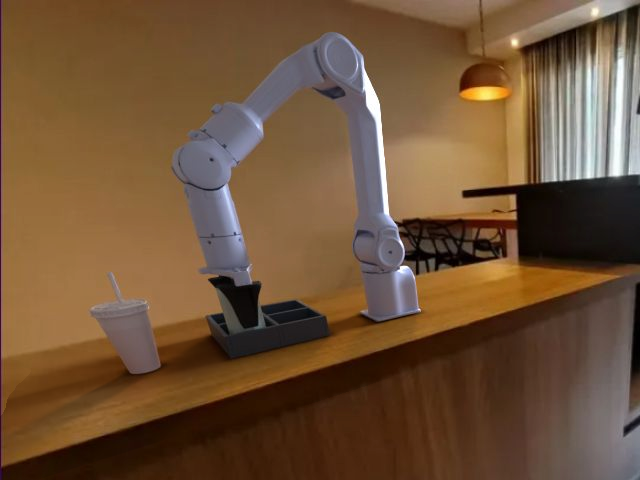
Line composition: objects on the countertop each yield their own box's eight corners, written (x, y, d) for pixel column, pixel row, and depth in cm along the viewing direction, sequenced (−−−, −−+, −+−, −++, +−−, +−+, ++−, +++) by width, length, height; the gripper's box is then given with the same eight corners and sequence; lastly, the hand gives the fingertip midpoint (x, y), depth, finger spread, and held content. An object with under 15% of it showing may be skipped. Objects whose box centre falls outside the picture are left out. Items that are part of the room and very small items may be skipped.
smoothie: (182, 360, 67) (147, 268, 61) (146, 378, 61) (104, 278, 55) (144, 359, 68) (105, 268, 62) (105, 377, 62) (59, 278, 56)
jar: (262, 327, 75) (249, 280, 72) (271, 334, 71) (257, 286, 68) (228, 334, 72) (212, 286, 68) (235, 342, 68) (219, 292, 65)
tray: (300, 316, 87) (296, 299, 85) (330, 335, 77) (326, 315, 75) (211, 335, 78) (205, 315, 76) (231, 358, 67) (224, 336, 66)
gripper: (180, 233, 67) (209, 318, 73) (197, 242, 58) (228, 339, 64) (232, 229, 72) (255, 310, 78) (255, 237, 62) (279, 328, 68)
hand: (246, 323), depth 71 cm, fingers closed on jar, 5 cm apart
